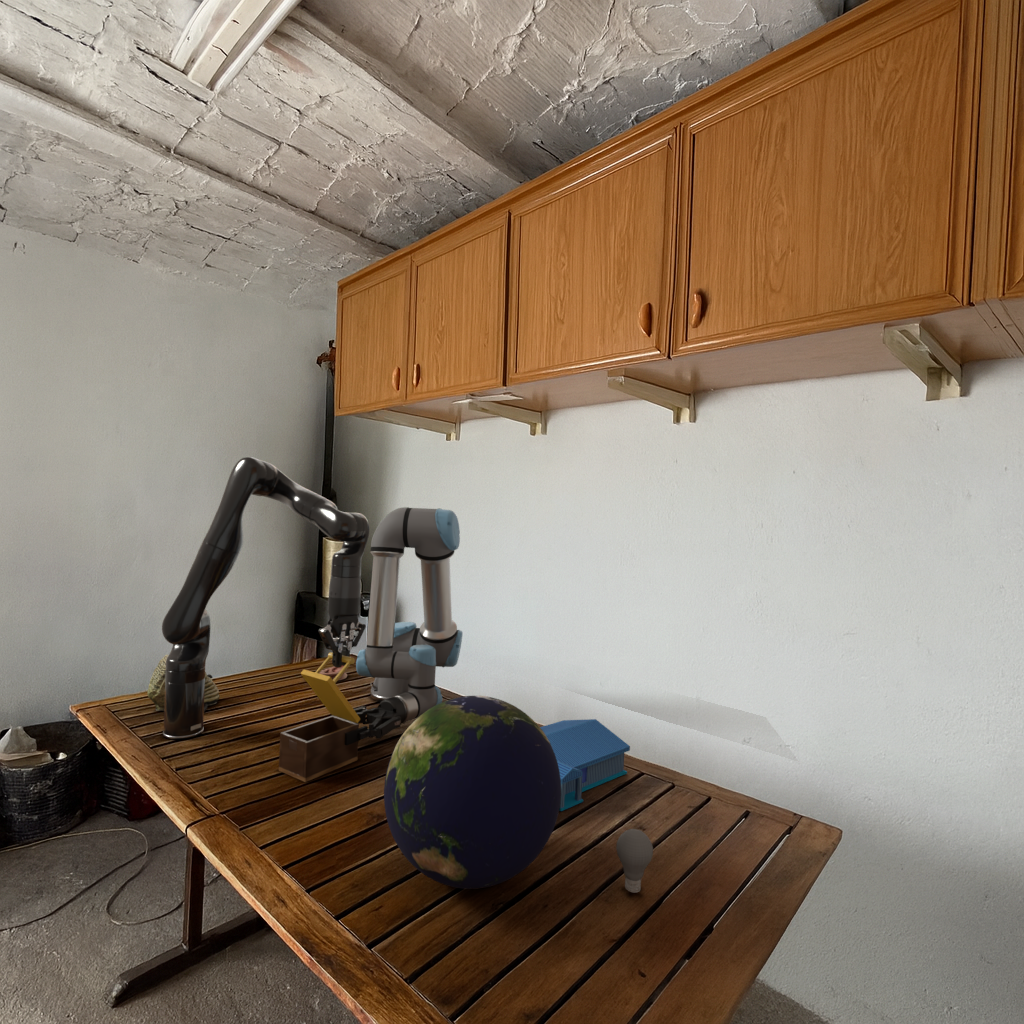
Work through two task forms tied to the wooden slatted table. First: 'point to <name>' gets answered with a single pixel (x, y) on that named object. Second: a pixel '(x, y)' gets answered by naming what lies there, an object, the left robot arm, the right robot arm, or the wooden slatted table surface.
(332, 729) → the chest
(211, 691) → the fossil
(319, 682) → the lid
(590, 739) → the model building
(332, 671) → the anatomical model
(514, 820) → the globe
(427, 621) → the right robot arm
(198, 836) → the wooden slatted table surface
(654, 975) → the wooden slatted table surface
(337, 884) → the wooden slatted table surface
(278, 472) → the left robot arm
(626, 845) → the light bulb
